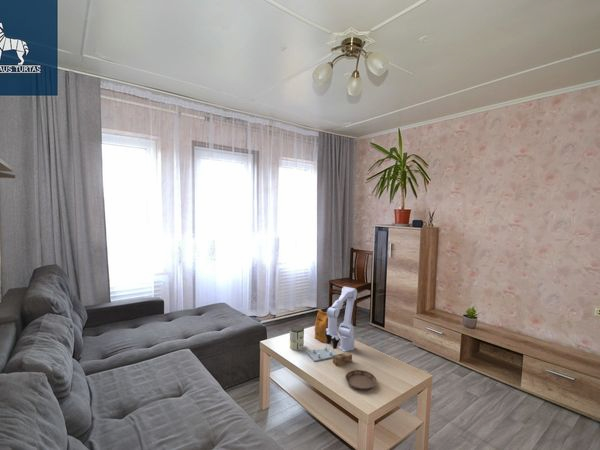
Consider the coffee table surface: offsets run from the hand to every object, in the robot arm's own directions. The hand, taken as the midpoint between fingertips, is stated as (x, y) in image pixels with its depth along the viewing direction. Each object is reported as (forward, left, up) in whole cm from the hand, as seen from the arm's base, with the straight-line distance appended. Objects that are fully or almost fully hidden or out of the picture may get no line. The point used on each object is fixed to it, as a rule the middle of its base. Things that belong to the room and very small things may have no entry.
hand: (332, 346), depth 185 cm
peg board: (+3, -8, -10) cm, 13 cm away
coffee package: (-9, -30, -10) cm, 33 cm away
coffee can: (+15, -25, -10) cm, 31 cm away
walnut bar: (-5, +5, -10) cm, 12 cm away
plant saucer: (-3, +28, -10) cm, 30 cm away
